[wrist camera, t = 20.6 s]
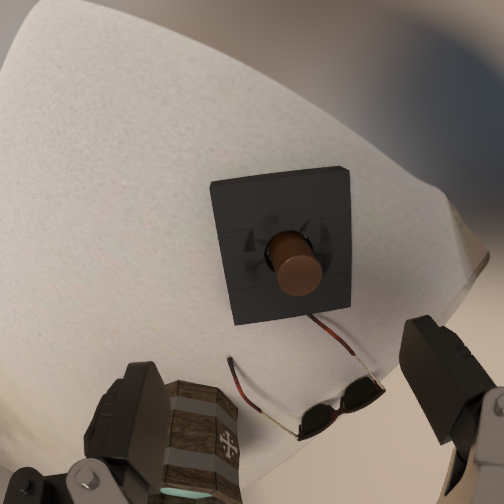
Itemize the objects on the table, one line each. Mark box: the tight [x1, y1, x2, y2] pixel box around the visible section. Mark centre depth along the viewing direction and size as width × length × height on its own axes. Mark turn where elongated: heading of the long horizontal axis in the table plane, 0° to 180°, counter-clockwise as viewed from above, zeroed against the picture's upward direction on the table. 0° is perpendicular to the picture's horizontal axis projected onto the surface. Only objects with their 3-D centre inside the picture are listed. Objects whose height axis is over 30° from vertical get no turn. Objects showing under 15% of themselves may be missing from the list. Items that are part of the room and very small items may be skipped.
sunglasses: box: [227, 314, 386, 441], centre depth 36 cm, size 14×16×5 cm
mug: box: [84, 380, 243, 504], centre depth 33 cm, size 20×14×15 cm
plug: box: [268, 230, 322, 296], centre depth 28 cm, size 4×4×7 cm
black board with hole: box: [210, 166, 352, 326], centre depth 30 cm, size 14×12×2 cm
